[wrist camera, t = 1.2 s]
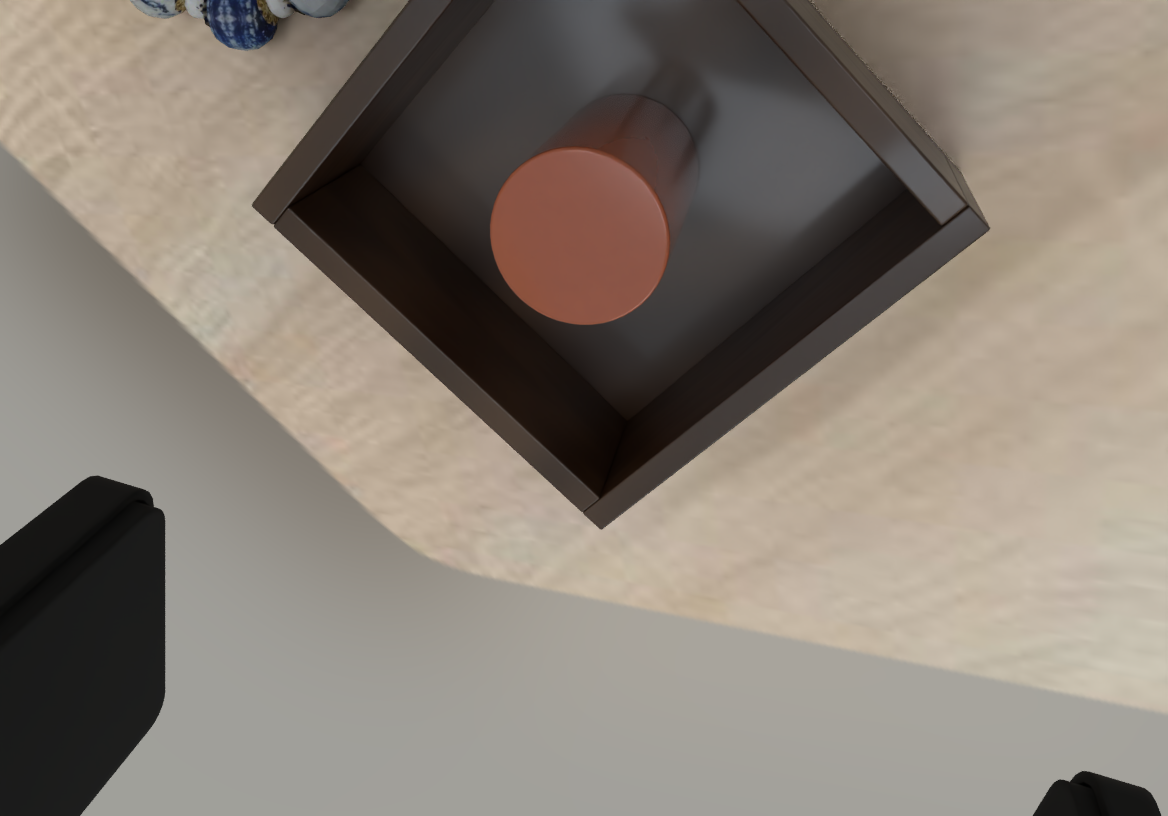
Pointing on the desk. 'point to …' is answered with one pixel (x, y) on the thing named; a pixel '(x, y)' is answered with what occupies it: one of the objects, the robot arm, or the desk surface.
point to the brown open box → (703, 249)
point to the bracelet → (241, 16)
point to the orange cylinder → (596, 211)
